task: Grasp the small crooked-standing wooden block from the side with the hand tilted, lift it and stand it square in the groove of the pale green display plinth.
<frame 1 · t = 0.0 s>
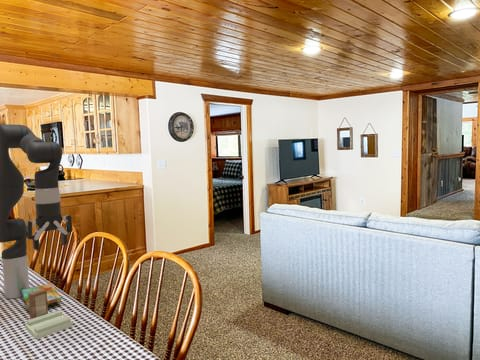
hand: (50, 247, 124), 29 cm above the table, tool pointing down, fingers open, 8 cm apart
wooden block: (39, 317, 135), on the table
plinth: (49, 327, 128), on the table
puzzle game: (41, 302, 150), on the table
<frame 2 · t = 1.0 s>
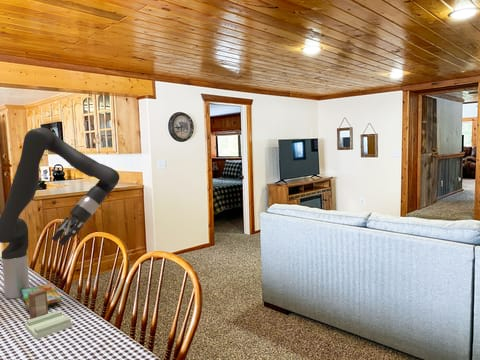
hand: (57, 242, 141), 27 cm above the table, tool tilted 45°, fingers open, 8 cm apart
nothing on the table moved.
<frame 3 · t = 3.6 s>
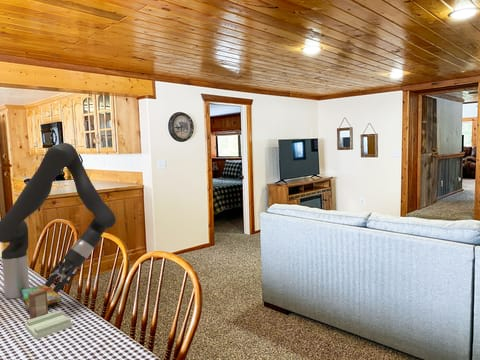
hand: (50, 288, 138), 10 cm above the table, tool tilted 45°, fingers open, 8 cm apart
nothing on the table moved.
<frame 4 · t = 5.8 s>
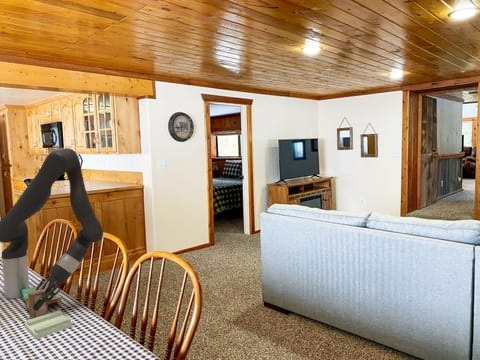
hand: (32, 307, 134), 5 cm above the table, tool tilted 45°, fingers closed on wooden block, 4 cm apart
wooden block: (39, 317, 136), on the table, touching gripper
everything else where it was.
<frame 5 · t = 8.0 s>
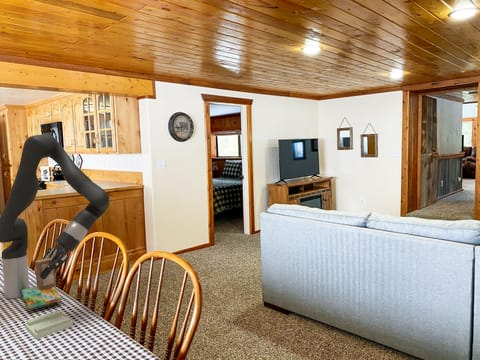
hand: (39, 276, 127), 18 cm above the table, tool tilted 45°, fingers closed on wooden block, 4 cm apart
wooden block: (46, 287, 129), point 14 cm above the table, touching gripper
everything else where it was.
when the fingers open (7 cm above the table, at t = 10.6 s): wooden block drops 1 cm, resting on plinth.
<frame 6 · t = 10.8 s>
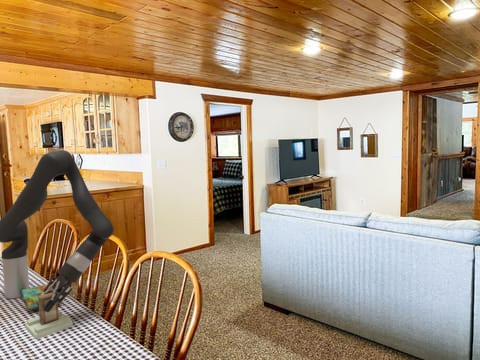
hand: (42, 308, 126), 8 cm above the table, tool tilted 45°, fingers open, 5 cm apart
wooden block: (49, 322, 128), point 1 cm above the table, touching plinth
everything else where it was.
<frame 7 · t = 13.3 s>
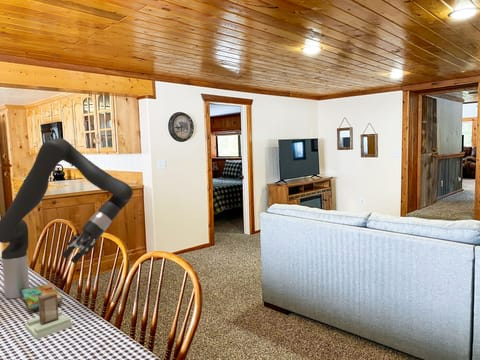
hand: (68, 259, 137), 21 cm above the table, tool tilted 45°, fingers open, 8 cm apart
nothing on the table moved.
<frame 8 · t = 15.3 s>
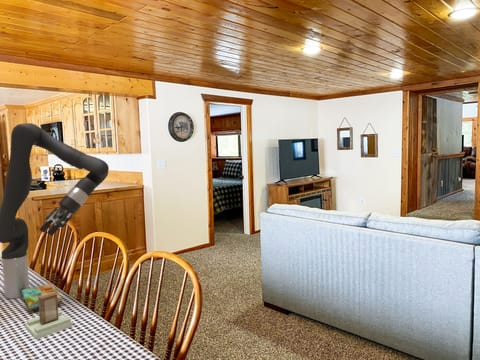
hand: (45, 232, 140), 31 cm above the table, tool tilted 45°, fingers open, 8 cm apart
nothing on the table moved.
at the end: wooden block inside the target area on the plinth (0.2 cm from its centre), point 1.5 cm above the plinth's base; wooden block tilted 0°; the gripper is holding nothing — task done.
